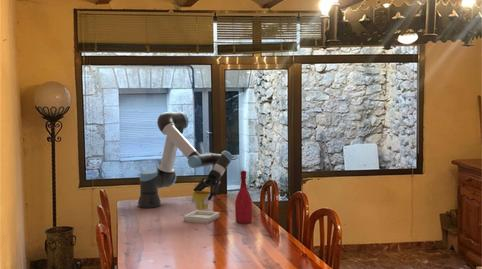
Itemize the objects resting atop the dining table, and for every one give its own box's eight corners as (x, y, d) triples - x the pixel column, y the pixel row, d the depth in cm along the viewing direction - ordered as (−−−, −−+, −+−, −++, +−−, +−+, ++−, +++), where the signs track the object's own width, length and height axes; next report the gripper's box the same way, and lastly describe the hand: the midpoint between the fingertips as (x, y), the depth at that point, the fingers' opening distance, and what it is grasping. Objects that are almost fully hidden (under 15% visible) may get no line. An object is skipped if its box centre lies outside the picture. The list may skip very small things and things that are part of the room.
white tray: (183, 221, 303) (183, 216, 303) (195, 215, 318) (195, 210, 318) (208, 223, 297) (208, 218, 297) (219, 217, 312) (219, 212, 312)
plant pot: (212, 206, 311) (211, 190, 311) (209, 210, 301) (209, 194, 300) (195, 206, 313) (194, 190, 312) (191, 210, 302) (191, 194, 302)
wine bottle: (252, 224, 295) (252, 172, 293) (235, 224, 295) (234, 172, 293) (252, 219, 305) (251, 169, 303) (235, 219, 305) (235, 169, 303)
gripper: (233, 178, 310) (215, 209, 299) (206, 175, 324) (188, 204, 314) (227, 171, 305) (209, 201, 295) (200, 167, 320) (181, 196, 310)
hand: (198, 202), depth 304 cm, fingers closed on plant pot, 10 cm apart
